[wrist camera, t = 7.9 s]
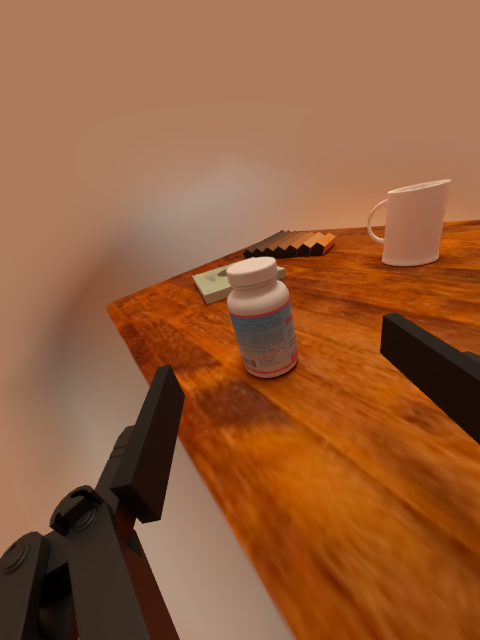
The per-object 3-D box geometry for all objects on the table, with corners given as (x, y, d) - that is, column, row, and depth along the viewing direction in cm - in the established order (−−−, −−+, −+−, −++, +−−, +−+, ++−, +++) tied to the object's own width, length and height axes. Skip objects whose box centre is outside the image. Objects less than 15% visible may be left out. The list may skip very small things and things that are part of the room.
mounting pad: (286, 277, 48) (284, 268, 47) (207, 304, 45) (204, 295, 44) (254, 263, 64) (253, 256, 63) (194, 283, 60) (192, 276, 59)
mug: (356, 263, 46) (357, 198, 40) (379, 250, 49) (382, 189, 44) (425, 268, 36) (438, 185, 31) (447, 252, 40) (463, 175, 34)
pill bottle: (308, 368, 23) (296, 260, 18) (252, 388, 22) (223, 282, 17) (284, 339, 28) (270, 250, 23) (239, 354, 28) (214, 267, 22)
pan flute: (279, 239, 87) (244, 260, 70) (278, 230, 85) (242, 249, 69) (348, 231, 72) (325, 255, 55) (348, 220, 70) (324, 241, 54)
